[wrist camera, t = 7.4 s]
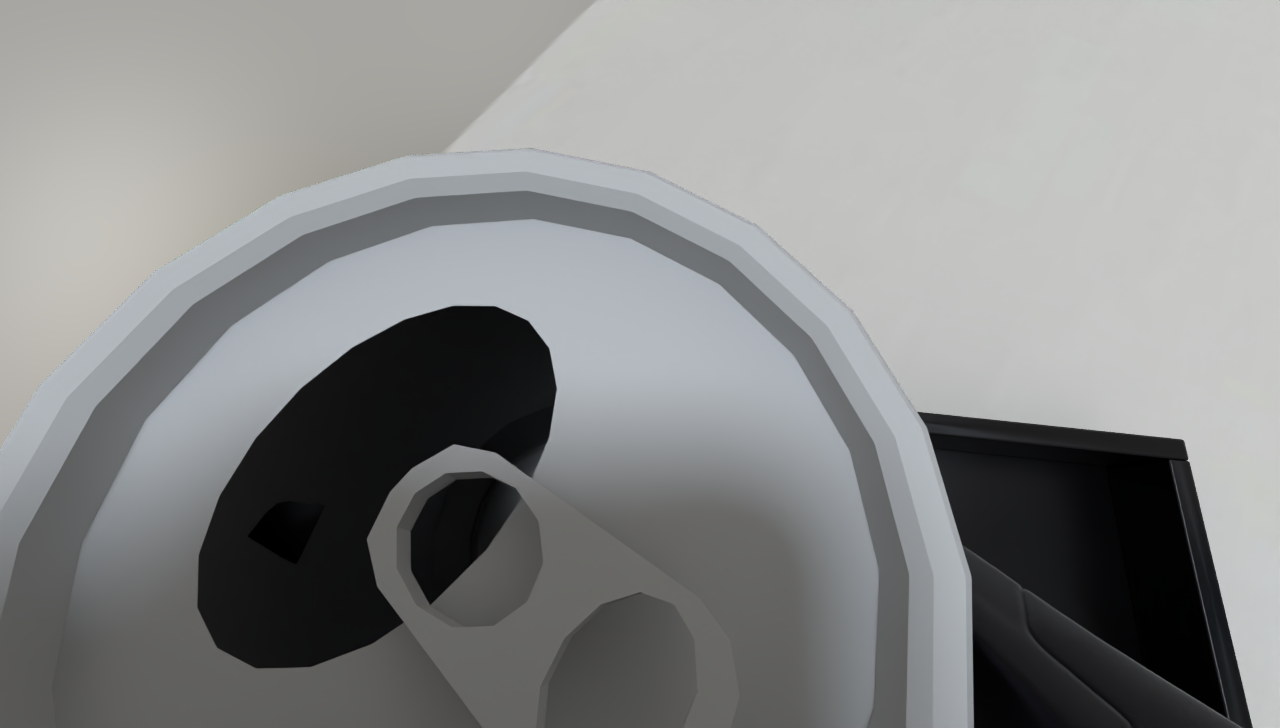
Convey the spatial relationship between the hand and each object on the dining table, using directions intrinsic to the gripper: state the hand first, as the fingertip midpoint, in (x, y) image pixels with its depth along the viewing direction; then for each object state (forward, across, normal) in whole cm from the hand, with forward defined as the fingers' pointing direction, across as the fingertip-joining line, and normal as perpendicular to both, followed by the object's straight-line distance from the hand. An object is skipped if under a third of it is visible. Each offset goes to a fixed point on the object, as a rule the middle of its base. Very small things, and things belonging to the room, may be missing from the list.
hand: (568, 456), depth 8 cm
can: (+4, 0, +6) cm, 7 cm away
